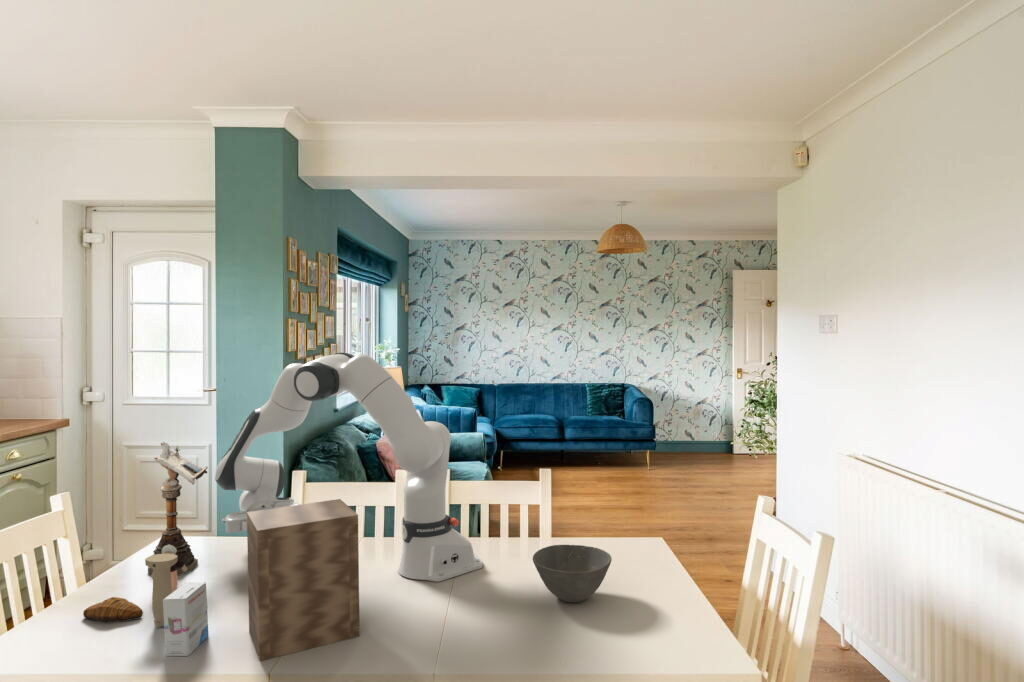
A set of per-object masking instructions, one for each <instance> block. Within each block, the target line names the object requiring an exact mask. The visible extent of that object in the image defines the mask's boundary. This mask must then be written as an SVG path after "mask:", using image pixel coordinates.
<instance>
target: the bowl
mask: <svg viewBox="0 0 1024 682" xmlns="http://www.w3.org/2000/svg"><path fill="white" fill-rule="evenodd" d="M612 561H613V560H612V556H611V555H610V553H609V552H607V551H605V550H603V549H601V548H597V547H594V546H587V545H582V544H581V545H580V544H577V545H576V544H552V545H549V546H545V547H542V548H541V549H539V550H537V551H535V553H534V554H533V556H532V562H533V564H534V566H535V569H536V571H537V572H538V575H539V577H540V579H541V580H542V582H543V584H544V585H545V588H546V589H547V590H548V591H549V592H550V593H551V594H552V595H553V596H554V597H556V598H558V599H559V600H561V601H564V602H566V603H579V602H582V601H586V600H587V599H588V598H589V597H591V596H592V595H593V594H595V593H596V592H597V590H598V589H599V588H600V587H601V585H602V583H603V582H604V579H605V578H606V575H607V572H608V570H609V568H610V566H611V563H612Z"/></svg>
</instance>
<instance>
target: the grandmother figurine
mask: <svg viewBox="0 0 1024 682" xmlns="http://www.w3.org/2000/svg"><path fill="white" fill-rule="evenodd" d="M176 552H177V549H176V548H175V547H174V546H173V545H170V544H169V545H166V546H164V547H163V548H162V554H174V555H175V554H176ZM176 567H179V568H181V569H182V570H183V571H184V572H186V571H187V568H186V566H185V563H184V562H183V561H181V560H179V559H178V560H177V562H176V563H175V564H174V565H173V566H171V568H170V573H171V586H172V593H173V592H174V591H175V590H176V589H178V575H177V570H176ZM150 578H151V579H153V573H152V575H150Z"/></svg>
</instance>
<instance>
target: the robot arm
mask: <svg viewBox="0 0 1024 682" xmlns="http://www.w3.org/2000/svg"><path fill="white" fill-rule="evenodd" d="M345 391H346V392H348V393H350V394H351V395H352V396H353V397H354V398H355V399H356V401H357V402H358V403H359V405H361V407H362V408H363V409H364V410H365V411H366V412H367V414H368V415H369V416H370V417H371V418H372V420H373V421H374V422H375V423H376V424H377V425H378V427H379V428H380V429H381V432H382V433H383V435H384V437H385V438H386V440H387V442H388V444H389V446H390V448H391V450H392V451H393V457H394V460H395V463H396V464H397V465H398V466H399V467H400V469H402V470H404V471H406V472H407V474H406V479H405V483H404V486H403V517H402V524H401V525H402V527H401V536H402V540H403V541H402V543H403V544H402V550H401V551H402V552H401V558H400V561H399V566H398V570H397V571H398V573H399V575H401V576H402V577H405V578H408V579H412V580H423V581H431V582H437V583H438V582H442V581H446V580H448V579H451V578H454V577H457V576H460V575H463V574H467V573H469V572H473V571H476V570H479V569H482V568H483V560H482V559H481V558H480V557H479V556H478V555H477V554H476V553H475V552H474V548H473V545H472V543H471V541H470V540H469V539H468V537H465V536H464V535H463V534H461V533H460V532H458V531H457V530H455V529H454V528H453V527H458V526H459V524H460V522H459V520H458V519H457V518H455V517H452V516H450V515H447V513H446V501H447V500H446V486H447V477H448V469H449V468H448V467H449V460H450V448H451V442H452V435H451V433H450V430H449V428H448V427H447V426H446V425H445V424H443V423H441V422H438V421H433V420H430V421H429V420H427V421H423V420H422V418H421V416H420V415H419V413H418V411H417V409H416V408H415V404H414V402H413V399H412V398H411V397H410V396H409V394H408V393H407V392H406V391H405V390H404V389H403V387H402V386H401V385H400V384H399V382H397V381H396V379H395V378H394V377H393V376H392V374H390V373H389V372H388V370H386V369H385V367H383V366H382V364H380V363H379V362H378V361H377V360H375V359H374V358H372V357H371V356H370V355H368V354H357V355H353V354H351V353H348V352H336V353H333V354H330V355H324V356H320V357H317V358H316V359H313V360H311V361H308V362H306V363H300V362H299V363H298V362H295V363H289V364H288V365H287V366H285V368H284V369H282V372H281V373H280V374H279V377H278V379H277V381H276V382H275V385H274V387H273V389H272V391H271V394H270V397H269V399H267V402H266V403H265V404H263V405H262V406H261V407H259V408H256V409H253V411H251V413H249V415H248V417H247V418H246V419H245V421H244V422H243V424H242V426H241V428H240V430H238V433H237V434H236V436H235V438H234V439H233V441H232V444H231V445H230V447H228V450H227V451H226V453H225V454H224V455H223V457H221V460H220V461H219V463H218V465H217V467H216V470H215V476H214V478H215V482H216V483H217V485H218V486H219V487H220V488H221V489H222V490H223V491H243V492H242V493H241V495H240V496H239V502H238V503H239V506H238V507H239V510H240V511H233V512H230V513H228V514H226V517H222V518H221V521H222V523H223V524H225V532H226V533H228V534H234V533H240V532H247V512H252V511H259V510H266V509H273V508H280V507H287V506H294V505H301V504H300V502H299V503H298V502H296V501H295V500H294V498H293V497H280V496H281V494H282V492H283V489H284V486H285V481H286V471H285V469H284V466H283V464H282V463H281V462H280V461H279V460H276V459H271V458H264V457H263V458H261V457H254V456H246V454H247V452H248V450H249V449H250V447H251V445H252V444H253V442H254V441H255V440H256V439H257V438H259V437H261V436H265V435H268V434H273V433H281V432H287V431H291V430H294V429H295V428H297V427H299V426H301V424H302V423H304V421H305V419H306V418H307V416H308V414H309V411H310V409H311V406H312V403H313V402H318V401H322V400H326V399H328V398H330V397H333V396H337V395H340V394H341V393H343V392H345Z"/></svg>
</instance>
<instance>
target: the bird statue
mask: <svg viewBox="0 0 1024 682" xmlns="http://www.w3.org/2000/svg"><path fill="white" fill-rule="evenodd" d="M160 446H161V448H162V451H161V453H160V456H155V457H154V461H155V462H157V463H158V464H160V465H161V467H163V468H165V469H166V470H167V474H168V477H167V478H166V479H164V481H163V482H162V485H163V486H162V487H160V491H161V497H162V498H163V499H165V504H166V506H165V507H166V512H165V513H164V515H165V516H166V528H165V529H163V531H162V532H161V537H160V539H159V542H158V544H157V545H155V549H154V550H153V555H155V554H162V548H163V547H164V546H166V545H169V544H170V545H173V546H174V547H175V548H176V549H177V552H176V554H175V555H177V558H178V559H179V560H181V561H183V562H184V563H185V566H186V568H187V571H186V572H184V571H183V570H182V569H181V568H179V567H176V570H177V576H181V575H184V574H187V573H190V572H192V571H193V570H194V569H195V568H197V566H198V565H199V561H198V558H197V557H195V555H194V553H193V552H192V549H191V545H190V544H188V543H189V542H188V541H186V539H185V538H184V536H183V533H182V530H181V528H179V527H178V526H177V523H178V522H177V516H178V514H179V512H178V511H177V501H178V498H179V497H181V489H182V485H181V484H179V483H180V480H179V479H178V477H179V476H181V477H183V478H184V479H186V480H187V481H188V482H189V483H190V484H192V485H194V484H195V483H196V480H199V479H200V478H202V477H203V476H204V475H205V474H208V471H207V470H208V466H205V467H204V468H202V467H200V466H198V465H196V464H195V463H193V462H191V461H189V460H188V459H186V458H185V457H183V456H181V454H180V453H179V451H181V448H179V445H177V446H176V448H174V449H173V450H174V451H173V450H171V449H170V448H171V447H170V445H169V443H167V442H164V441H161V442H160ZM194 486H195V485H194ZM147 573H148V575H150V576H151V575H152V573H153V569H152V568H150V567H148V566H147Z"/></svg>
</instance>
